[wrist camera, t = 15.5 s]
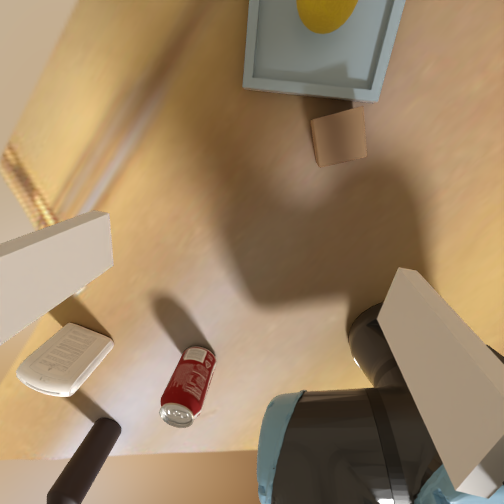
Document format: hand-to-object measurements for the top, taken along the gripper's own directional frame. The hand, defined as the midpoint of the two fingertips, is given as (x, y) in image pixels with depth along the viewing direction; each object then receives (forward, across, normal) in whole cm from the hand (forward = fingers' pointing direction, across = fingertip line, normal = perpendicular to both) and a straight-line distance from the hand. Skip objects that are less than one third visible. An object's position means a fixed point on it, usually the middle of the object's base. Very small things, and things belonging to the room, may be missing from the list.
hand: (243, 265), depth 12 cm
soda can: (+27, +9, +36) cm, 46 cm away
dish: (+26, -2, -18) cm, 31 cm away
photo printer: (+27, +32, +36) cm, 55 cm away
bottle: (+28, +31, +66) cm, 78 cm away
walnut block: (+26, -6, -6) cm, 27 cm away
